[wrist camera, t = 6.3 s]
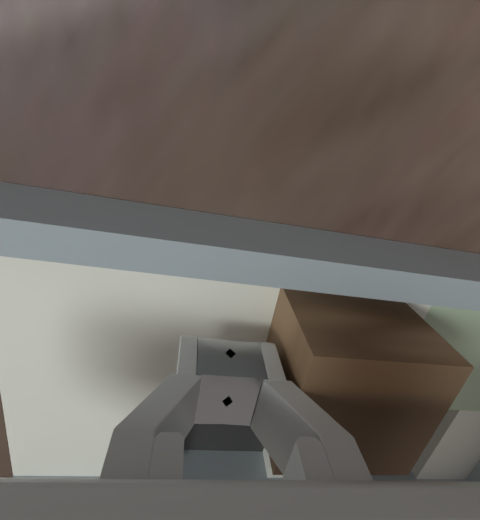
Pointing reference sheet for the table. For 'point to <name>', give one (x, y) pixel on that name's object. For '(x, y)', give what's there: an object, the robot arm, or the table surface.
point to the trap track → (189, 321)
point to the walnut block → (369, 371)
